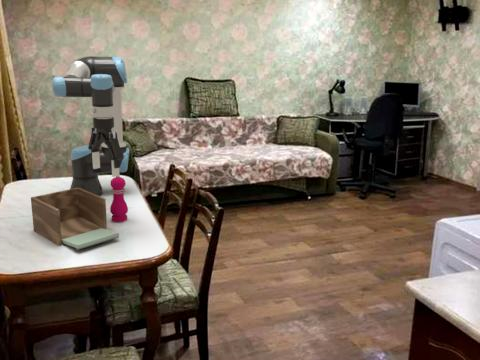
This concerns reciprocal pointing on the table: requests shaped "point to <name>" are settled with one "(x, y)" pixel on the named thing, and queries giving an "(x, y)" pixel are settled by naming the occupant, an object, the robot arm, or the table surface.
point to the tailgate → (90, 238)
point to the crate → (68, 214)
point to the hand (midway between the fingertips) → (106, 172)
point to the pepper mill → (118, 200)
